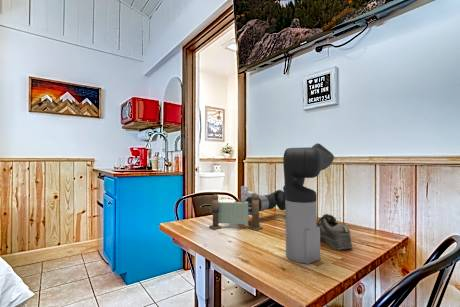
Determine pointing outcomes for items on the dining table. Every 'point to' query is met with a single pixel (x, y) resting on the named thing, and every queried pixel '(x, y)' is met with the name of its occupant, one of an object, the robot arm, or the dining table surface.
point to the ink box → (246, 194)
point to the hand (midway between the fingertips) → (227, 208)
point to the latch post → (215, 213)
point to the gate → (233, 213)
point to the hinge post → (255, 212)
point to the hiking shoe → (334, 233)
